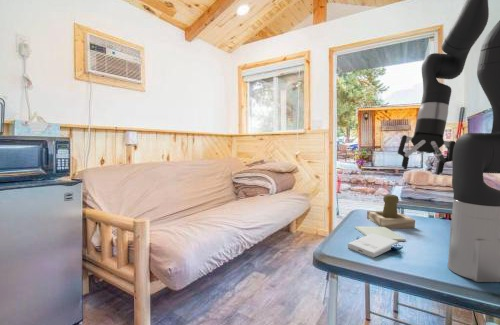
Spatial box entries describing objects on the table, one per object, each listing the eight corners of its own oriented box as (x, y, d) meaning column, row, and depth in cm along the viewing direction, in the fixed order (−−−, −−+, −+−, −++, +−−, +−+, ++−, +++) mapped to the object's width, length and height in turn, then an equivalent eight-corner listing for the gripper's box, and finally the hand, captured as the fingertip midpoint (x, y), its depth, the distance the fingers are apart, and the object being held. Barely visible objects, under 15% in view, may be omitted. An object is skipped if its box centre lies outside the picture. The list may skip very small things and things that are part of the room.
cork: (401, 225, 99) (403, 196, 98) (385, 225, 99) (387, 196, 98) (393, 220, 105) (394, 193, 104) (377, 220, 105) (379, 193, 104)
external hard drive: (398, 246, 77) (374, 258, 70) (372, 237, 83) (347, 247, 76) (398, 241, 76) (374, 252, 70) (372, 232, 83) (347, 242, 76)
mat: (405, 241, 83) (405, 239, 83) (371, 240, 83) (371, 238, 83) (385, 228, 95) (385, 226, 95) (355, 228, 95) (355, 226, 94)
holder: (414, 228, 96) (415, 219, 96) (382, 227, 96) (382, 219, 96) (395, 218, 108) (396, 211, 108) (366, 218, 108) (367, 210, 108)
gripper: (406, 114, 80) (396, 167, 80) (464, 120, 74) (452, 176, 75) (403, 119, 87) (393, 168, 87) (455, 124, 81) (445, 176, 81)
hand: (420, 171), depth 81 cm, fingers open, 8 cm apart
